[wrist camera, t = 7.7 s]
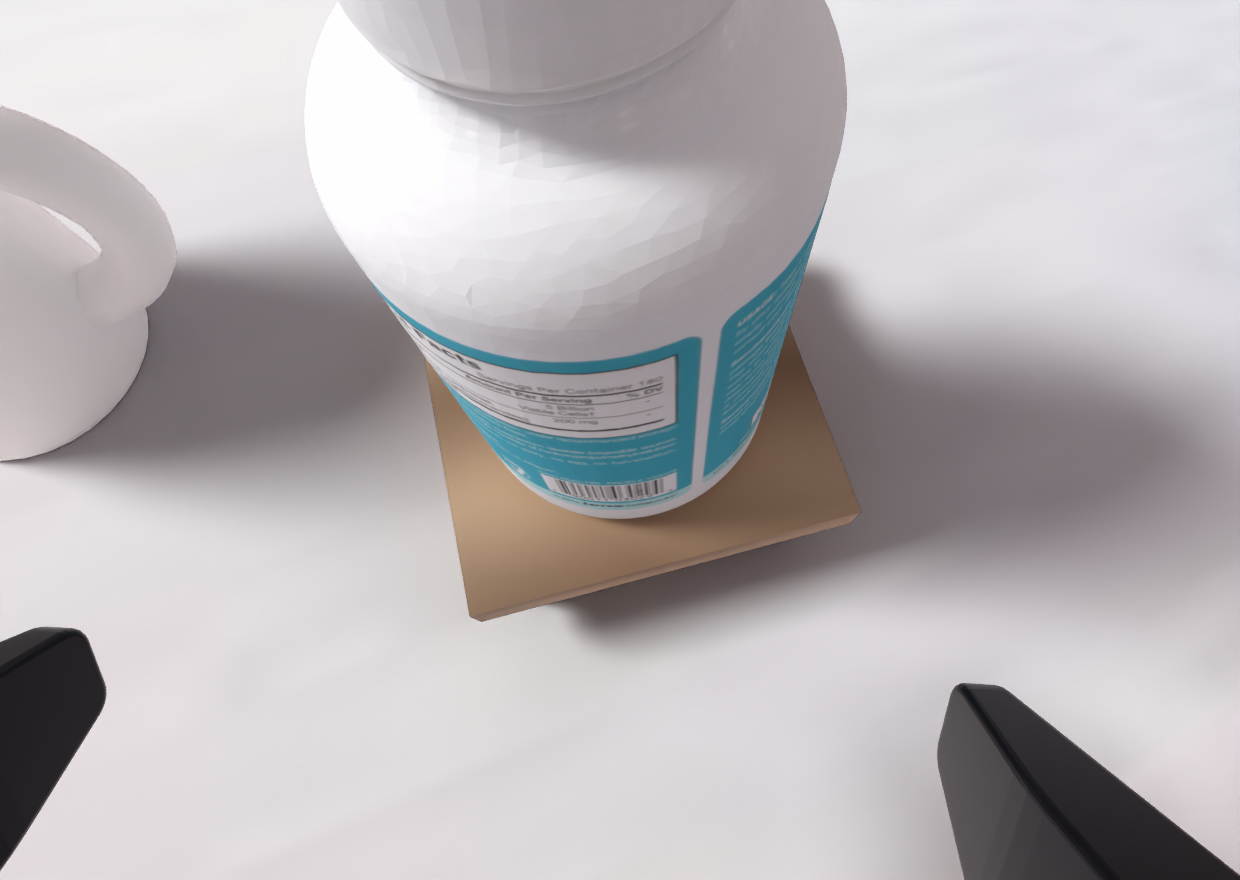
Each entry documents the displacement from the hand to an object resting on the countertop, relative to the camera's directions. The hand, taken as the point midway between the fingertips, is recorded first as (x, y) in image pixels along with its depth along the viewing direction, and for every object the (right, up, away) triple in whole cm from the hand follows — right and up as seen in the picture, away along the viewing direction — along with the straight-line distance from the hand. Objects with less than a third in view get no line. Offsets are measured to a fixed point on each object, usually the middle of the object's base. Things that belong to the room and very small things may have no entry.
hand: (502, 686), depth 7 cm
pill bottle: (+1, +4, +12) cm, 13 cm away
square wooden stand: (+1, +3, +15) cm, 16 cm away
